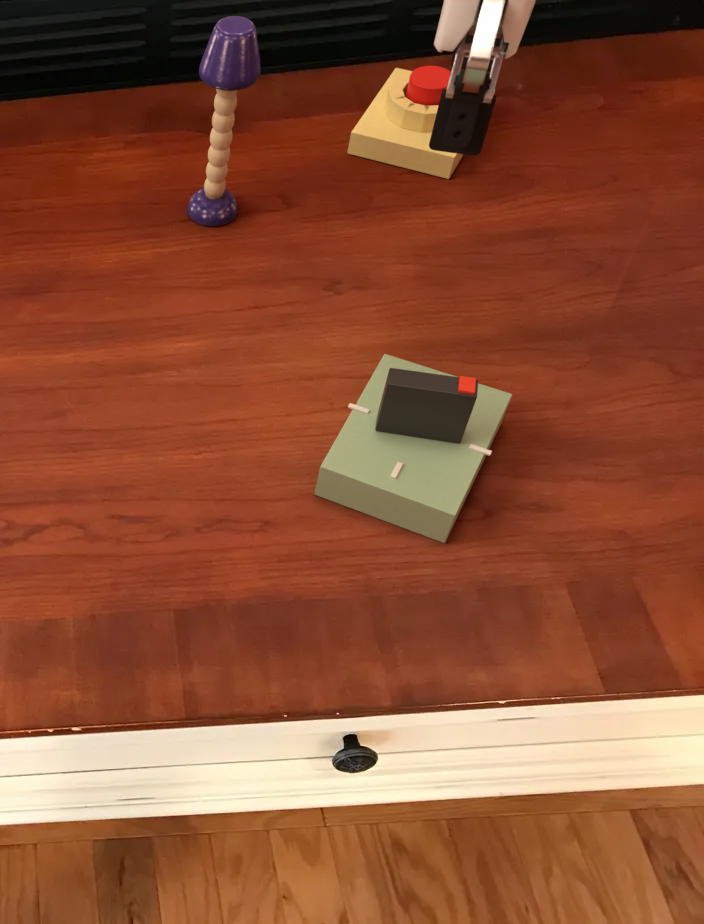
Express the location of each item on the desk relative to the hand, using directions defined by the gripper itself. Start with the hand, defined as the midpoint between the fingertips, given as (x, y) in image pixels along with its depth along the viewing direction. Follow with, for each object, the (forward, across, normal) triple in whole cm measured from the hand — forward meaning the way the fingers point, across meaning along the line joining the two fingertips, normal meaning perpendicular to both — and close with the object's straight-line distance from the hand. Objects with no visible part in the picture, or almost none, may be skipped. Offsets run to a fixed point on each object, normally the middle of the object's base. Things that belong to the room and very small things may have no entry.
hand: (464, 108), depth 77 cm
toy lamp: (+16, -6, -17) cm, 25 cm away
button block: (+16, -22, -3) cm, 27 cm away
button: (+13, -22, -3) cm, 25 cm away
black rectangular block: (+13, +17, +2) cm, 22 cm away
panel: (+16, +17, +2) cm, 24 cm away
